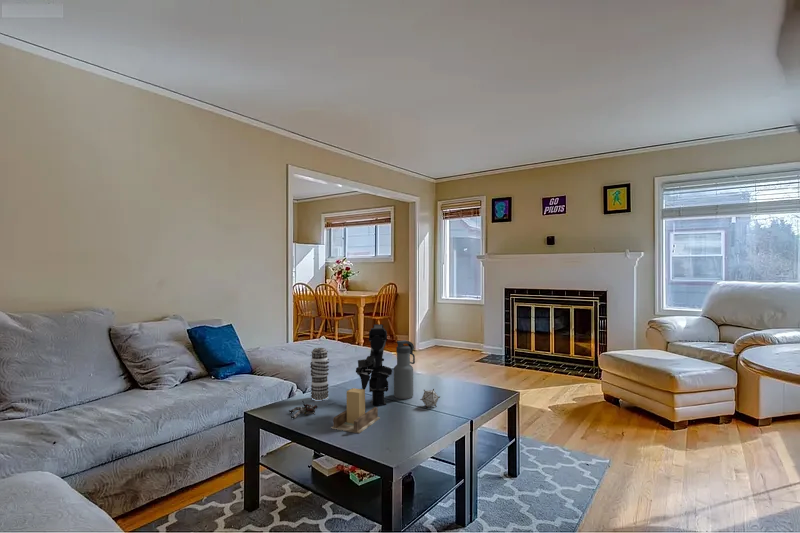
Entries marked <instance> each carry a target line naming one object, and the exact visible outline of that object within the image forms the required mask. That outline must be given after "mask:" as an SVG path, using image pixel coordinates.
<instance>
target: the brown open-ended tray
mask: <svg viewBox="0 0 800 533" xmlns="http://www.w3.org/2000/svg"><path fill="white" fill-rule="evenodd" d="M378 411H379V410H378V407H377V406H375V407H372V408H371V409H369V410H368V411H367V412H365V414H363V415H362V416H360V417H359V418H357V419H356V420H354V424H353V423H347V409H345V410H343V411H342V412H340V413H338V414H337V415H335V416H334V417H333V418H332V425H333V426H331V427H330V429H331V428H332V430H336V429H337V431H342V430H343V431H342V432H349V433H355V434H361V433H362V432H364V431H365V430H366V429H368V428H369V427H370V426H372V425H373V424H374V423H376V422H377V421H379V420H380V416H379V415H378V413H379V412H378Z"/></svg>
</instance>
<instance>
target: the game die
mask: <svg viewBox="0 0 800 533" xmlns="http://www.w3.org/2000/svg"><path fill="white" fill-rule="evenodd" d="M439 398H441V396H438V394H437V393H436V392H435V388H433V389H432V390H431V389H430V390H426V389H423V394H422V397H421V398H420V399H419V401H422V402H423V403H424V405H425V406H426V407H425V409H427V408H428V407H435V408H438V407H437V403H438V401H439Z"/></svg>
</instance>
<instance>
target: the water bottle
mask: <svg viewBox="0 0 800 533" xmlns="http://www.w3.org/2000/svg"><path fill="white" fill-rule="evenodd" d="M414 350H415V345H414V343H413V342H411V341H410V340H409V341H408V340H405V339H403V340H397V341H396V363H397V364H396V365H395V366H394V367H393V396H394V398H395V399H399V400H408V399H412V398H413V397H414V367H413V365H414V364H415V362H416V358H415V357H416V356H415V353H414ZM411 356H412V361H411Z"/></svg>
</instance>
